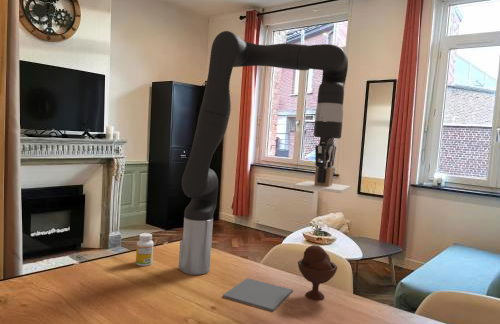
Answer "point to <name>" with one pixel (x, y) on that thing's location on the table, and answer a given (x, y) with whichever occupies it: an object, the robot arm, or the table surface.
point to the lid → (324, 186)
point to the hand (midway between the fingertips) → (323, 181)
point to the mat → (258, 294)
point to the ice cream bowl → (316, 270)
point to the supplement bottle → (144, 250)
